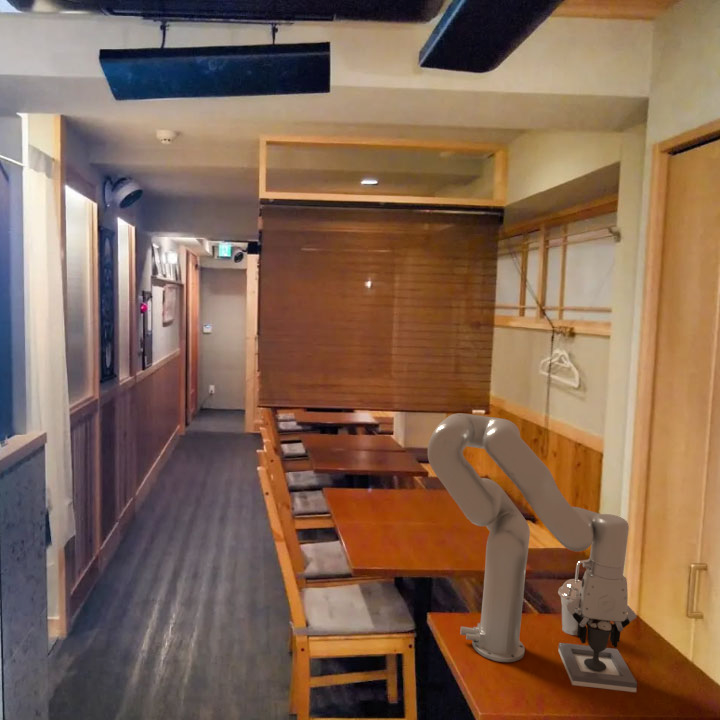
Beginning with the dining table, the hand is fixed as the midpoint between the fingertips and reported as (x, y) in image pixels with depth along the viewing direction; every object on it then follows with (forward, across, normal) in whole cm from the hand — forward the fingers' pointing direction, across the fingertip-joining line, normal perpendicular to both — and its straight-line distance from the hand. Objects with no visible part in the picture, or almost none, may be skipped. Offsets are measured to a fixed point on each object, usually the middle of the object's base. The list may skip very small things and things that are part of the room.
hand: (597, 641), depth 148 cm
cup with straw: (+7, -1, +18) cm, 19 cm away
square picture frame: (+7, 0, 0) cm, 7 cm away
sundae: (+6, 0, 0) cm, 6 cm away
